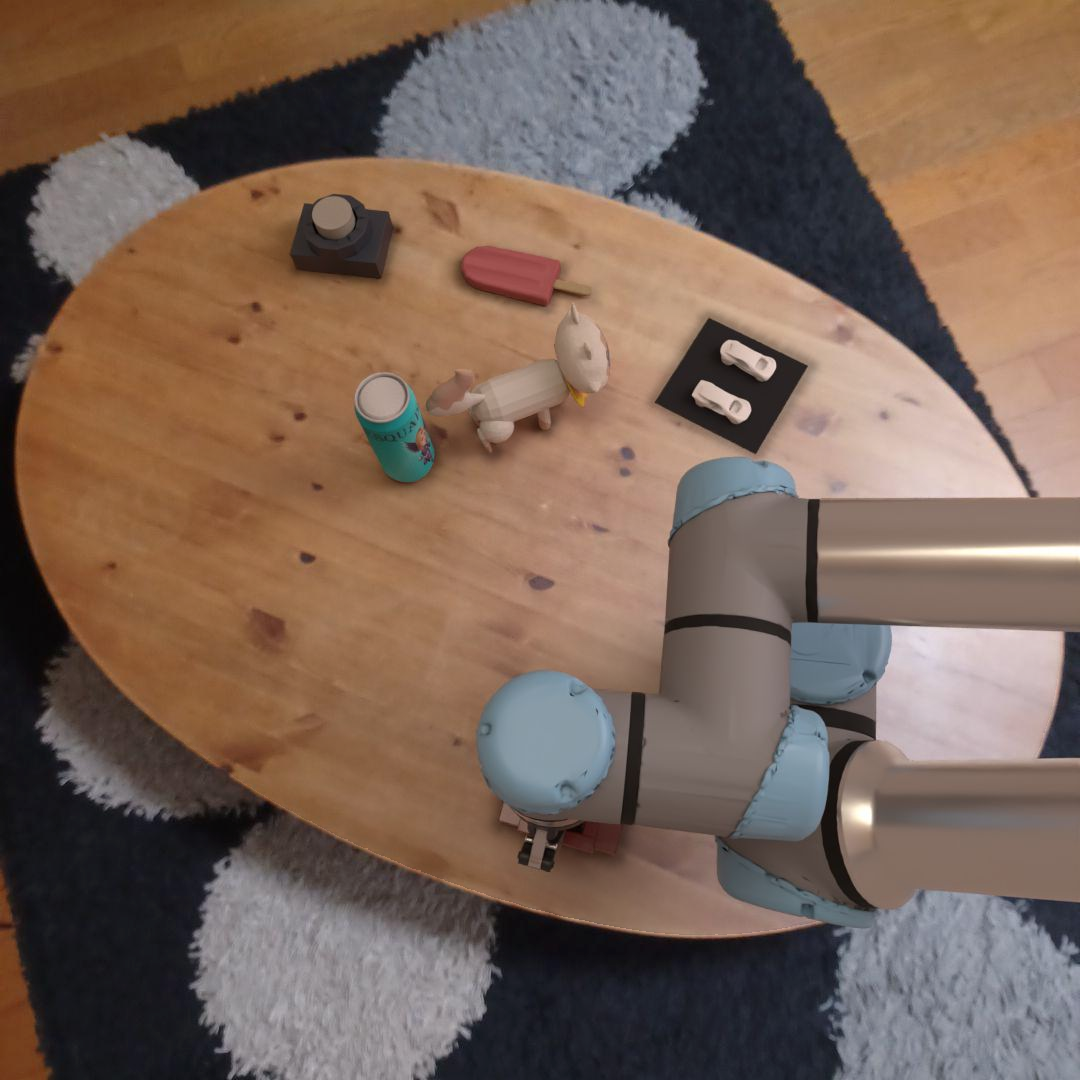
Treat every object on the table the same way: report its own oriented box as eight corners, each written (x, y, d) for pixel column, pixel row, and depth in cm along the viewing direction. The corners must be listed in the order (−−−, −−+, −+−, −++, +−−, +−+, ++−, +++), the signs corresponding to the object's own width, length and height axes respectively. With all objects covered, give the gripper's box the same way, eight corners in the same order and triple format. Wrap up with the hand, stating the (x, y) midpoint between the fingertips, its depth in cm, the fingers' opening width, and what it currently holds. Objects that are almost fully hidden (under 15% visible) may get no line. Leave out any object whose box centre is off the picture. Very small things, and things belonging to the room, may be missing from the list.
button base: (394, 226, 117) (385, 198, 112) (381, 279, 115) (371, 253, 110) (311, 218, 118) (299, 190, 113) (296, 270, 116) (283, 244, 111)
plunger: (359, 209, 113) (355, 197, 111) (350, 242, 111) (346, 231, 109) (321, 205, 113) (316, 194, 111) (312, 238, 112) (307, 227, 110)
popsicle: (584, 308, 110) (454, 278, 112) (584, 315, 112) (456, 286, 114) (597, 267, 112) (469, 239, 114) (597, 276, 113) (471, 247, 115)
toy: (624, 426, 107) (628, 353, 93) (456, 490, 105) (435, 427, 91) (591, 357, 110) (591, 277, 96) (428, 419, 108) (403, 347, 94)
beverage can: (430, 492, 105) (404, 429, 91) (377, 483, 106) (343, 419, 92) (442, 443, 107) (419, 373, 93) (390, 434, 108) (359, 364, 94)
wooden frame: (631, 785, 94) (633, 780, 91) (613, 860, 92) (614, 858, 88) (519, 754, 96) (515, 748, 92) (498, 827, 94) (494, 824, 90)
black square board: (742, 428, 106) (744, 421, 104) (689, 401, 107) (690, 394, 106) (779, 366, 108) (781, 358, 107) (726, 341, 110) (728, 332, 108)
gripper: (525, 663, 70) (541, 720, 92) (471, 852, 66) (502, 864, 88) (630, 690, 69) (621, 741, 91) (582, 884, 65) (585, 888, 87)
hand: (562, 801), depth 90 cm, fingers closed
